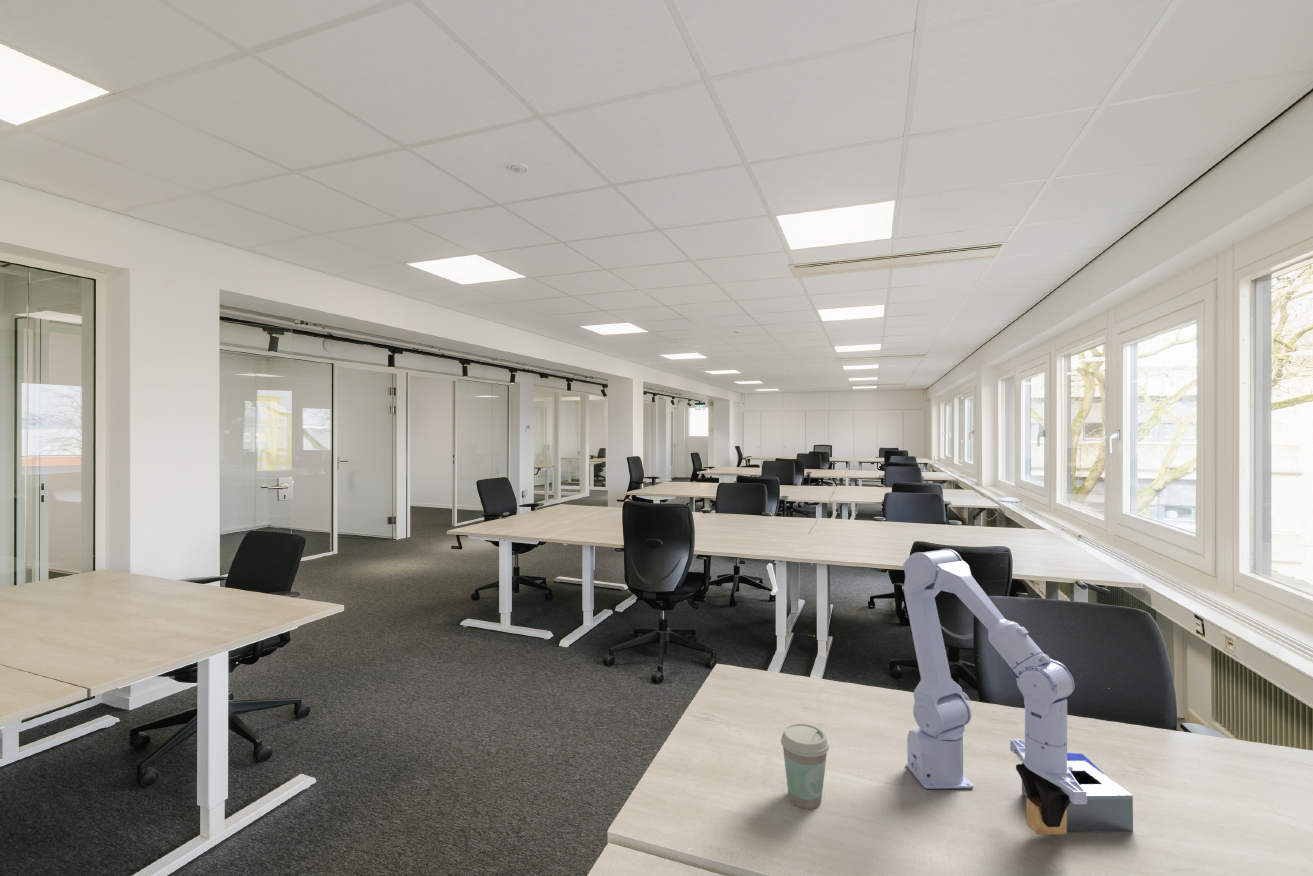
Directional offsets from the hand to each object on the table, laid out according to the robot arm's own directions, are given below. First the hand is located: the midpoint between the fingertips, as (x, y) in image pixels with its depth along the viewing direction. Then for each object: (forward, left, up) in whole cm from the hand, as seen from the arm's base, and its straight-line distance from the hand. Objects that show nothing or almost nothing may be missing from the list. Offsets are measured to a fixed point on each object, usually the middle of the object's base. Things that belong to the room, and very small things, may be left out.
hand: (1045, 819), depth 90 cm
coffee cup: (-37, +11, -3) cm, 39 cm away
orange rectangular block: (0, 0, -2) cm, 2 cm away
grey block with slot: (+10, +6, -3) cm, 12 cm away
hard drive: (+18, +20, -4) cm, 27 cm away
